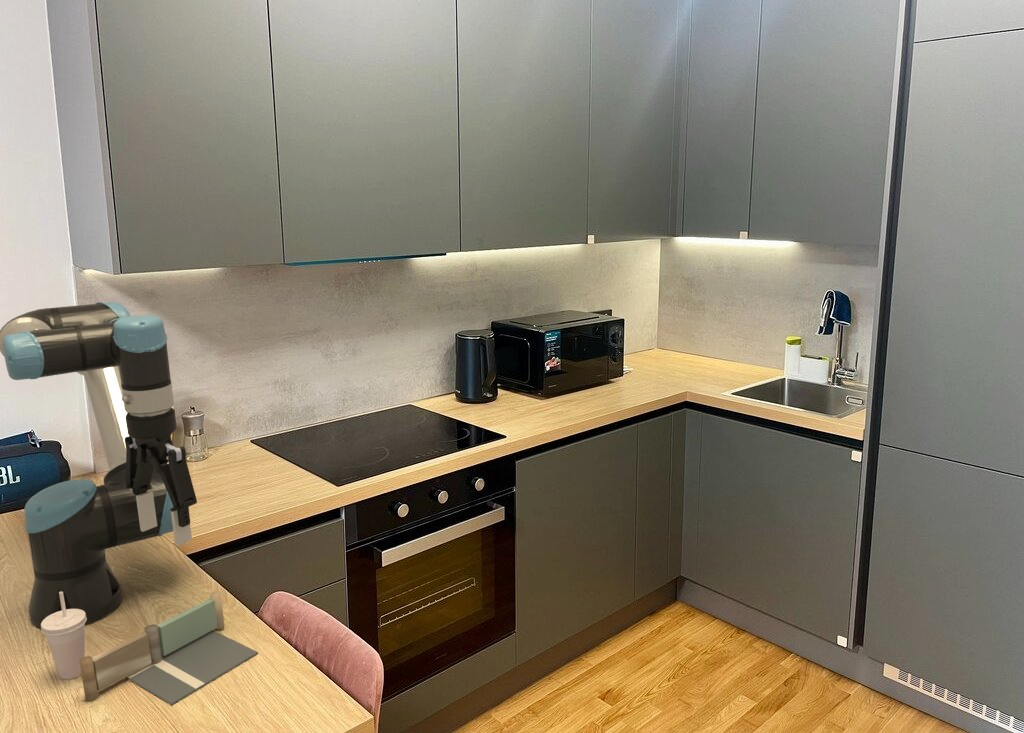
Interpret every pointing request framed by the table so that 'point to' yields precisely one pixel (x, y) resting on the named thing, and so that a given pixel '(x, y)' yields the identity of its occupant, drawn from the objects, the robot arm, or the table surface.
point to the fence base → (120, 661)
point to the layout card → (191, 666)
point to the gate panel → (191, 624)
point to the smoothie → (66, 639)
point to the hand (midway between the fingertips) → (165, 535)
